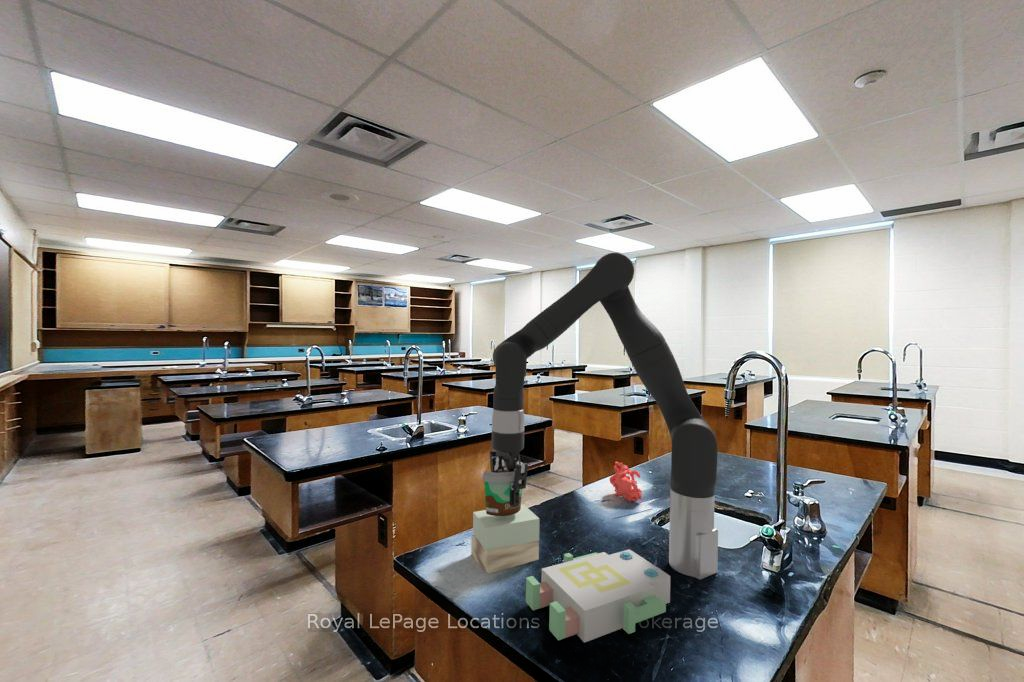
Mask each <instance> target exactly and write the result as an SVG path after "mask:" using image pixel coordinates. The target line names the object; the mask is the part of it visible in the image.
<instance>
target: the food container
mask: <svg viewBox="0 0 1024 682" xmlns="http://www.w3.org/2000/svg"><path fill="white" fill-rule="evenodd" d="M514 477H515V471H513V472H506V473H505V472H504V471H503V470H502V469H501V468H498V469H497V470H495V471H493V472H491V471H486V470H484V471H483V473H482V478H481V481H482V482H484V498H485V499H484V500H485V510H486V514H488V515H493V516H509V515H513V514H516V513H517V512H519V511H520V509H521V504H522V497H523V496H522V494H523V489H520V492H519V505H518V506H515V507H511V506H510V482H513V484H514ZM520 481H522V480H520Z"/></svg>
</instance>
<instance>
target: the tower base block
mask: <svg viewBox="0 0 1024 682" xmlns="http://www.w3.org/2000/svg"><path fill="white" fill-rule="evenodd" d="M470 541H471V544H470V545H471V549H470V550H471V551H470V554H471V556H472V557H473V559H474V560H475V561H476V562H477V564H479V565H478V566H480V567H481V568H482V569H483V570H484V572H485V573H486V572H487V573H488V574H487V573H486V574H487V575H489V573H490V574H493V572H494V573H497V572H500V571H504V570H508V569H511V568H514V567H517V566H522V565H525V564H529V563H532V562H536V561H538V560H539V558H540V557H539V555H540V554H539V553H540V552H539V551H540V539H539V540H537V541H533V542H528V543H523V544H517V545H512V546H507V547H502V548H497V549H492V550H487V551H486V550H485V549H484V547H483V546H482V545H481V543H480V542H479V541H478V539H477V538H476V536H475V535H474V534H471V540H470Z"/></svg>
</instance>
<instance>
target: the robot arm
mask: <svg viewBox="0 0 1024 682" xmlns="http://www.w3.org/2000/svg"><path fill="white" fill-rule="evenodd" d="M634 275H635V266H634V264H633V260H632V259H630V257H628V255H625V254H624V253H621V252H609V253H607V254H604V255H603V256H602V257H600V259H598V260H597V262H596V263H595V265H594V266H593V267H592V268H591V270H590V271H589V272H588V273H587V274H586V275H585V276H584V277H583V278H582V279H581V280H580V281H579V282H578V283H577V284H575V285H574V286H573V287H572V288H571V289H570V290H568V292H566V293H565V294H563V295H562V296H560V298H558V299H557V300H555V301H554V302H553V303H551V304H550V305H549V306H548V307H546V308H545V309H544V310H543V311H540V313H539V314H537V315H536V316H535V317H533V318H532V319H531V320H530V321H528V322H527V323H526V324H525V325H524V326H523V327H522V328H520V329H519V330H518V331H516V332H515V333H513V334H511V335H510V336H509V337H507V338H506V339H504V340H503V341H502V342H501V343H499V344H498V345H497V346H496V347H495V348H494V350H493V352H492V362H493V364H494V365H495V386H494V388H493V396H492V397H493V400H492V401H493V402H492V404H493V405H492V406H493V407H492V416H491V449H492V450H490V451H489V462H490V472H493V471H495V470H497V469H498V468H501V469H502V470H503V471H504V472H505V473H506V472H513V471H515V477H514V484H513V482H510V506H511V507H515V506H518V505H519V492H520V489H522V490H524V489H526V486H527V478H528V467H529V466H528V465H529V464H528V463H527V462H522V461H521V457H520V452H521V451H523V450H524V448H525V414H524V401H525V400H524V397H525V396H524V385H525V380H526V379H525V378H526V369H527V359H528V358H530V357H531V356H532V355H533V354H535V353H537V352H538V351H541V350H543V349H545V348H546V347H547V346H549V345H550V344H551V343H553V342H554V341H556V339H558V338H559V337H560V336H561V335H563V334H564V333H565V332H566V331H567V330H568V329H570V328H571V327H572V326H573V325H574V324H575V323H576V322H577V321H578V320H579V319H580V318H581V317H582V316H583V315H584V314H585V313H586V312H588V311H589V310H590V309H591V308H593V306H595V305H596V304H597V303H599V302H600V303H601V305H602V307H603V308H604V310H605V312H606V313H607V314H608V317H609V318H610V320H611V322H612V324H613V326H614V329H615V331H616V333H617V336H618V337H619V340H620V341H621V344H622V346H623V348H624V349H625V352H626V354H627V357H628V359H629V361H630V363H631V365H632V366H633V369H634V370H635V371H634V372H635V373H636V375H637V376H638V378H639V379H640V382H641V383H642V384H643V386H644V387H645V389H646V390H647V391H648V393H649V394H650V396H651V397H652V399H653V400H654V401H655V403H656V404H657V406H658V408H659V410H660V411H661V415H662V416H663V419H664V422H665V425H666V427H667V429H668V433H669V435H670V439H671V440H670V441H671V457H670V458H671V459H670V460H671V463H670V464H671V466H670V468H671V469H670V470H671V471H670V477H669V478H670V479H669V480H670V484H669V485H670V487H669V489H670V490H669V492H670V493H669V530H668V531H669V532H668V533H669V537H668V538H669V539H668V540H669V541H668V543H669V544H668V545H669V546H668V550H669V551H668V563H669V566H670V567H671V568H672V569H673V570H674V571H676V572H678V573H680V574H682V575H685V576H688V577H692V578H696V579H698V580H703V579H705V578H708V577H709V576H712V575H714V574H716V573H717V574H718V564H719V563H718V557H719V556H718V555H719V553H718V551H719V530H718V529H717V528H715V497H716V496H715V492H716V484H717V476H718V475H717V474H718V452H719V451H718V440H717V437H716V434H715V433H714V431H713V430H712V428H711V427H710V425H709V424H708V423H707V421H706V420H705V419H704V418H703V415H701V413H700V412H699V409H698V408H697V407H696V406H695V403H694V402H693V401H692V399H691V396H690V395H689V392H688V390H687V388H686V385H685V381H684V379H683V375H682V372H681V371H680V368H679V366H678V363H677V360H676V359H675V356H674V354H673V352H672V350H671V348H670V347H669V345H668V343H667V341H666V338H665V337H664V335H663V333H661V331H660V330H659V329H658V328H657V327H656V326H655V324H654V323H653V322H651V320H649V318H647V317H646V315H645V314H644V313H643V312H642V311H641V310H640V308H639V307H638V305H637V303H636V301H635V299H634V297H633V295H632V292H631V290H630V287H629V286H630V284H631V282H632V281H633V278H634ZM520 480H522V481H520Z"/></svg>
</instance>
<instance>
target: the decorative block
mask: <svg viewBox="0 0 1024 682" xmlns="http://www.w3.org/2000/svg"><path fill="white" fill-rule="evenodd" d="M540 579H541V582H539V581H538V580H537V579H536V577H535V576H533V575H531V576H527V577H526V578H525V603H526V604H527V605H528V606H529V607H530V609H531V610H532V611H536V610H538V609H542V608H545V607H548V606H549V621H548V622H549V623H548V627H549V628H548V629H549V632H550V633H551V634H552V635H553V636H554V637H555V638H556V640H557V641H561V640H563V639H566V638H569V637H572V636H575V635H576V636H577V637H579V639H580V640H581V641H582V642H583V643H587V642H590V641H592V640H595V639H598V638H600V637H602V636H605V635H608V634H611V633H613V632H616V631H618V630H623V631H625V632H626V633H627V635H630V634H632V633H635V632H636V624H638V623H640V622H644V621H646V620H648V619H651V618H654V617H656V616H659V615H661V614H664V613H666V612H667V605H666V604H667V603H670V604H671V575H670V574H668V573H667V572H665V571H664V570H662V569H660V568H659V567H657V566H656V565H654V564H653V563H651V562H650V561H648V559H647V560H646V559H645V558H643V557H642V556H641V555H639V554H638V553H636V552H634V551H633V550H631V549H625V550H622V551H617V552H615V553H611V554H608V553H606V552H605V551H602V552H597V551H596V552H592V553H588V554H585V555H581V556H577V557H574V555H573V554H572V553H570V552H568V553H564V554H563V562H561V563H557V564H554V565H551V566H546V567H542V568H541V578H540Z"/></svg>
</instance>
